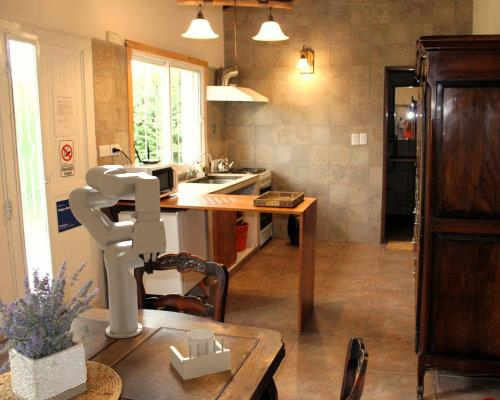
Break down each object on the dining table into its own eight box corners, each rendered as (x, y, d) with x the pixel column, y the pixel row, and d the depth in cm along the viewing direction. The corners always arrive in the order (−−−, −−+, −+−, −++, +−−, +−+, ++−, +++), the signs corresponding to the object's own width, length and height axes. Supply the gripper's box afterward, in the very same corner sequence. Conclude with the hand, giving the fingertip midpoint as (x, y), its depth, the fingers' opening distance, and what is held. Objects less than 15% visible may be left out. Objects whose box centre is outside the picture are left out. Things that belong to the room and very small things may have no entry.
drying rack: (170, 362, 165) (169, 330, 164) (213, 352, 171) (213, 322, 170) (184, 380, 154) (183, 346, 152) (230, 369, 160) (230, 337, 159)
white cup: (213, 371, 159) (212, 338, 158) (186, 371, 159) (185, 339, 158) (214, 359, 167) (214, 328, 166) (189, 359, 167) (188, 328, 165)
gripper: (127, 220, 161) (129, 279, 164) (175, 216, 168) (175, 273, 171) (120, 215, 168) (122, 272, 171) (167, 211, 175) (168, 266, 178)
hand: (149, 272), depth 171 cm, fingers closed
